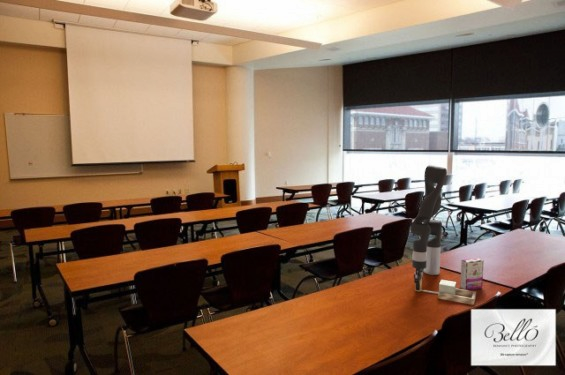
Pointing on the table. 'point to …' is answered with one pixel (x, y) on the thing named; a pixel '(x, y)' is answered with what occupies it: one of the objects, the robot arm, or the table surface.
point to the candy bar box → (471, 273)
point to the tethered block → (442, 287)
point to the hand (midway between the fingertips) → (418, 288)
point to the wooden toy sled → (459, 298)
